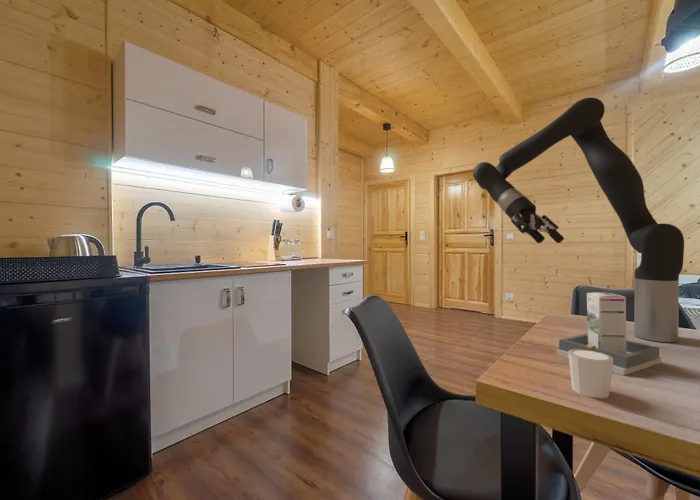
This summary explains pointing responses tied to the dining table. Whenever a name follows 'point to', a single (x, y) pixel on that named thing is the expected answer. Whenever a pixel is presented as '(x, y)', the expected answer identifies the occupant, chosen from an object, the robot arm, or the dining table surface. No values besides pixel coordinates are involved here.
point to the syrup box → (606, 321)
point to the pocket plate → (625, 364)
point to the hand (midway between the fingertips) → (551, 241)
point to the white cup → (590, 372)
